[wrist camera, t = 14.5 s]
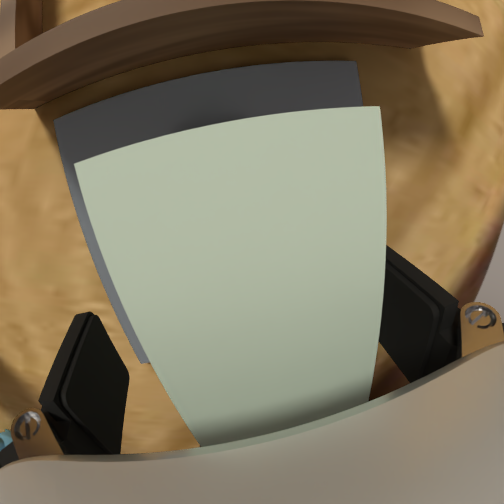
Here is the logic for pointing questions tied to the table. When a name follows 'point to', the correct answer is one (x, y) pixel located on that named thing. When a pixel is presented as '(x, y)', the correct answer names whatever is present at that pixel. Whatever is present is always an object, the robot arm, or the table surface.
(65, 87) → the rack
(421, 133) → the table surface
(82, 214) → the mat
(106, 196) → the pale green block
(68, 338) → the robot arm
